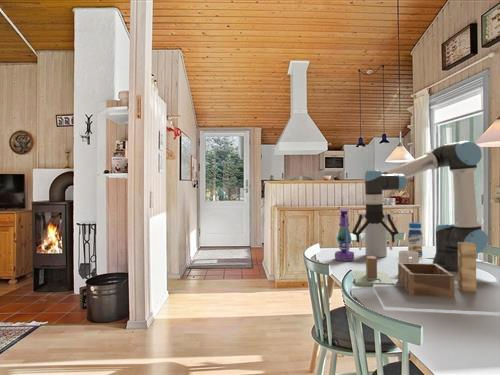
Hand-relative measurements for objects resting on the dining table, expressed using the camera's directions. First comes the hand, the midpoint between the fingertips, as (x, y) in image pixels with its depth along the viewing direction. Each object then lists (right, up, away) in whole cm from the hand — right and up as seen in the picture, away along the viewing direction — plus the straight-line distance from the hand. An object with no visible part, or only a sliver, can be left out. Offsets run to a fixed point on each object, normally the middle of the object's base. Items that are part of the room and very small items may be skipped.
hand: (375, 249), depth 173 cm
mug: (+19, -14, +7) cm, 25 cm away
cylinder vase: (+20, -14, +58) cm, 63 cm away
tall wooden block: (+30, -14, -22) cm, 39 cm away
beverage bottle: (+44, -14, +59) cm, 75 cm away
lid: (-2, -14, 0) cm, 14 cm away
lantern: (-3, -14, +47) cm, 49 cm away
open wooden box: (+14, -14, -18) cm, 27 cm away
